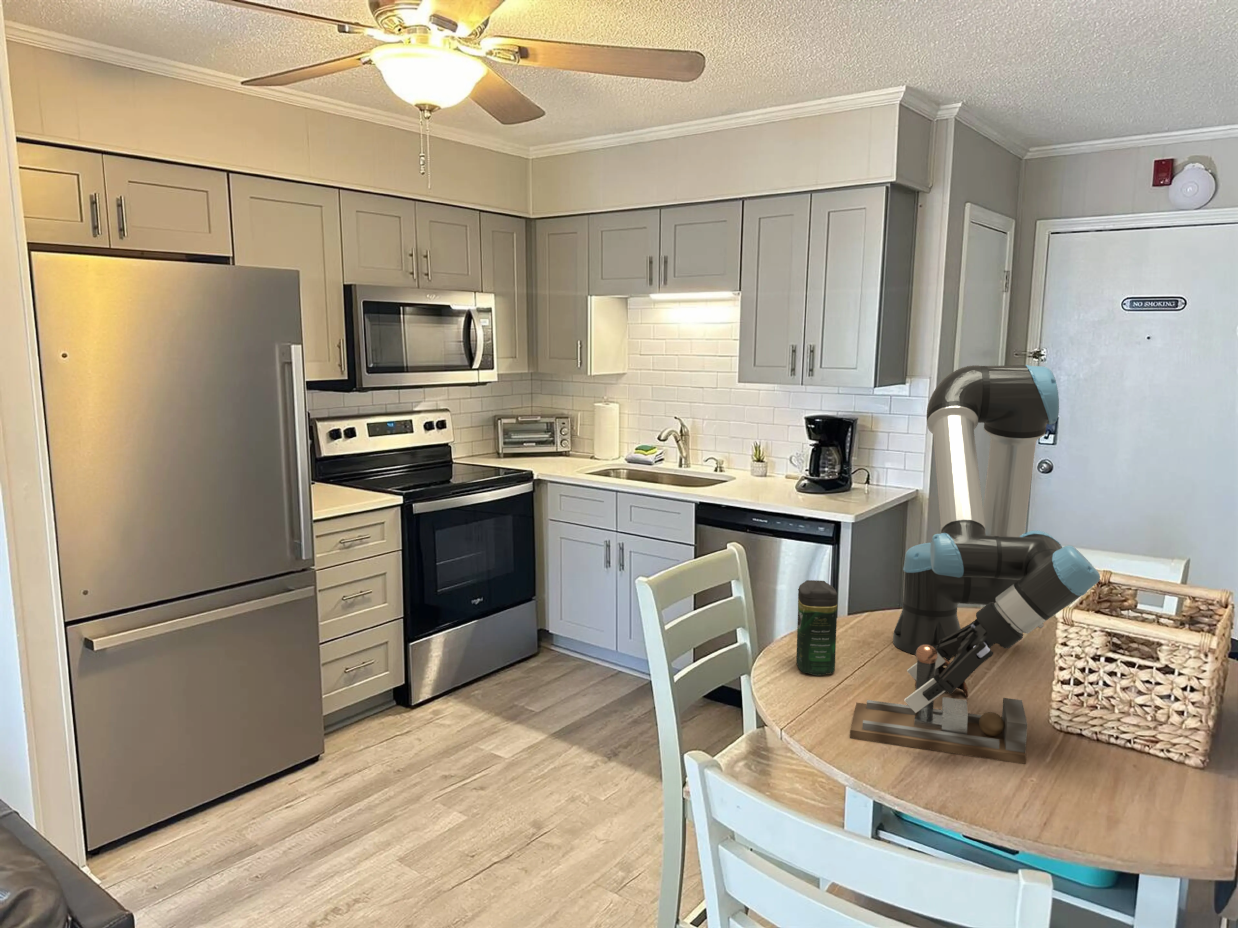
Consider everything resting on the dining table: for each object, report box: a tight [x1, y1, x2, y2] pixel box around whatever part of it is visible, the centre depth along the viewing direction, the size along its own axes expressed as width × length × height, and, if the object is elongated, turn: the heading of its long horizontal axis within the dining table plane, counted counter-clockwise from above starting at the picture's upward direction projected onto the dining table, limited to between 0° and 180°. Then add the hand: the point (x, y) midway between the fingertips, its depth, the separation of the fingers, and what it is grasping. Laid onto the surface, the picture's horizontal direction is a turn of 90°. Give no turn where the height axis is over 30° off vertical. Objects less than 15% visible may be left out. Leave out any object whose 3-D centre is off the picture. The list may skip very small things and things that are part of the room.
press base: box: [849, 697, 1028, 765], centre depth 150 cm, size 28×12×6 cm, turn 70°
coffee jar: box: [795, 579, 838, 676], centre depth 180 cm, size 10×8×19 cm
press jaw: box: [914, 644, 969, 735], centre depth 149 cm, size 9×7×15 cm
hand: (910, 690), depth 151 cm, fingers open, 13 cm apart
